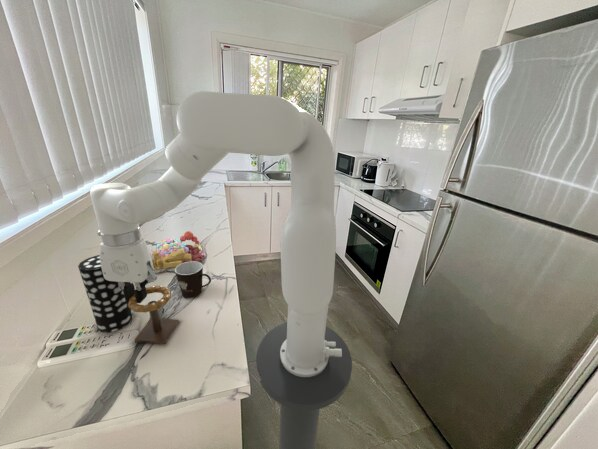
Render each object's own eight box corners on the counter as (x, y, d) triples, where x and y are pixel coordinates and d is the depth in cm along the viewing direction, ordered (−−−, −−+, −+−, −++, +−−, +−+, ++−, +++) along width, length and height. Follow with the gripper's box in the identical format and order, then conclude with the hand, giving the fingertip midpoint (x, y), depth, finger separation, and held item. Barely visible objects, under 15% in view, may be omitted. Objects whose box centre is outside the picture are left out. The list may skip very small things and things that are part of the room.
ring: (177, 291, 69) (177, 285, 68) (159, 315, 60) (158, 309, 59) (143, 288, 69) (142, 283, 68) (120, 312, 60) (118, 306, 59)
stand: (179, 322, 72) (174, 294, 68) (164, 344, 64) (158, 314, 61) (152, 320, 72) (146, 292, 68) (134, 342, 64) (126, 312, 61)
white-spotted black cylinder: (100, 317, 72) (81, 257, 65) (133, 308, 76) (119, 251, 69) (95, 336, 65) (74, 273, 58) (132, 326, 69) (117, 265, 62)
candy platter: (208, 266, 101) (206, 246, 97) (142, 280, 90) (137, 258, 86) (199, 242, 121) (197, 225, 117) (144, 251, 110) (140, 232, 106)
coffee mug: (174, 292, 84) (170, 267, 81) (197, 282, 90) (195, 258, 87) (190, 308, 77) (186, 282, 74) (214, 296, 83) (212, 271, 80)
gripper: (74, 241, 54) (95, 307, 61) (146, 244, 54) (159, 311, 61) (100, 228, 61) (116, 289, 67) (164, 231, 61) (174, 292, 68)
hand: (136, 299), depth 64 cm, fingers closed on ring, 2 cm apart
